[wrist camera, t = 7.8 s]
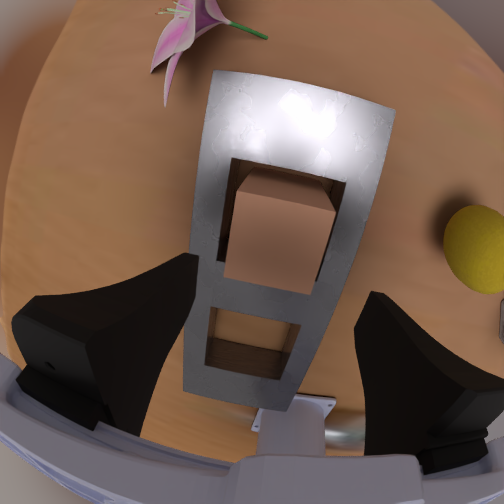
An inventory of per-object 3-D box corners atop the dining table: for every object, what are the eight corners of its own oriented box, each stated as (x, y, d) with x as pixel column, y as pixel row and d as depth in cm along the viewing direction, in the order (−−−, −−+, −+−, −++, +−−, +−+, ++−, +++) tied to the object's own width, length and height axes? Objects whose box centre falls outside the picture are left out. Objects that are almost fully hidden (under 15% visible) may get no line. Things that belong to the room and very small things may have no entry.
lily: (245, -42, 12) (150, -83, 6) (363, 12, 10) (281, -74, 4) (176, 62, 19) (78, 58, 13) (257, 139, 18) (140, 151, 11)
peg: (303, 239, 20) (310, 294, 14) (243, 226, 20) (223, 276, 14) (319, 180, 18) (335, 212, 12) (254, 166, 19) (236, 190, 12)
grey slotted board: (287, 385, 27) (286, 412, 24) (192, 365, 28) (183, 390, 24) (377, 111, 16) (395, 110, 13) (226, 78, 16) (213, 69, 13)
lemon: (414, 226, 19) (467, 282, 12) (460, 177, 17) (528, 212, 9) (447, 270, 20) (493, 330, 13) (488, 226, 18) (545, 272, 10)
